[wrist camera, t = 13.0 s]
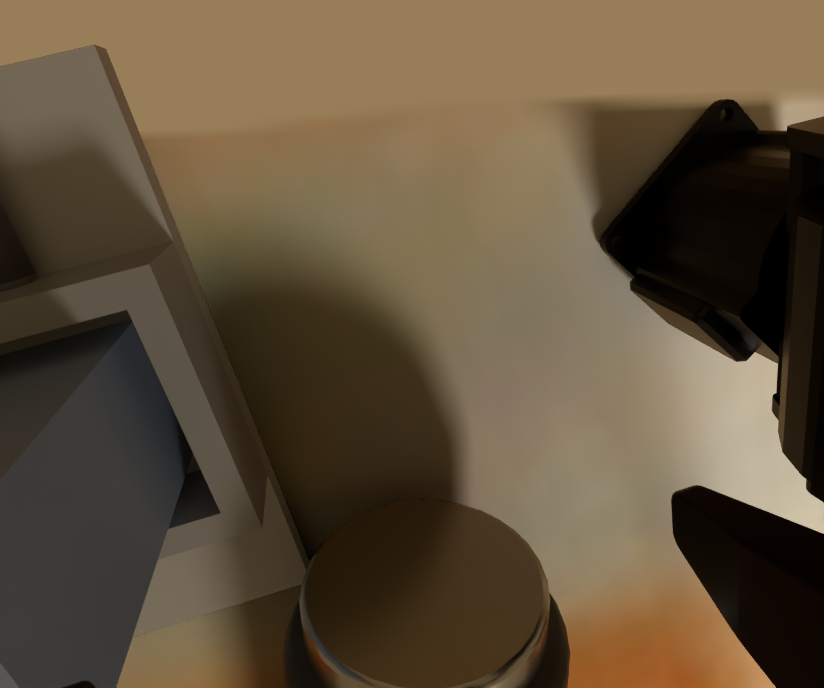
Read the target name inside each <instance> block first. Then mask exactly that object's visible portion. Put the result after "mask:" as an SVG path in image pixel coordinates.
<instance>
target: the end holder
mask: <svg viewBox="0 0 824 688" xmlns="http://www.w3.org/2000/svg"><path fill="white" fill-rule="evenodd" d="M130 319H132V321H133V324H134V326H135V328H136V330H137V332H138V335H139V337H140V339H141V341H142V343H143V345H144V348H145V350H146V352H147V354H148V356H149V358H150V361H151V363H152V365H153V367H154V369H155V371H156V374H157V376H158V378H159V380H160V382H161V384H162V387H163V389H164V391H165V393H166V395H167V397H168V400H169V402H170V404H171V406H172V408H173V411H174V413H175V415H176V417H177V419H178V421H179V424H180V426H181V428H182V430H183V432H184V434H185V437H186V439H187V441H188V443H189V445H190V447H191V450H192V452H193V455H192V458H191V461H190V464H189V467H188V470H187V473H186V476H185V479H184V482H183V485H182V488H181V491H180V494H179V497H178V500H177V503H176V506H175V509H174V512H173V515H172V518H171V522H170V525H169V528H168V531H167V534H166V537H165V540H164V543H163V546H162V549H161V552H160V555H159V558H158V561H157V564H156V567H155V570H154V573H153V576H152V579H151V582H150V585H149V589H148V592H147V595H146V598H145V601H144V604H143V607H142V610H141V613H140V616H139V619H138V622H137V625H136V628H135V631H134V634H133V637H136V636H139V635H142V634H145V633H148V632H152V631H155V630H158V629H161V628H164V627H167V626H171V625H174V624H177V623H180V622H183V621H187V620H190V619H193V618H196V617H199V616H203V615H206V614H209V613H212V612H215V611H218V610H222V609H225V608H228V607H231V606H234V605H238V604H241V603H244V602H247V601H250V600H254V599H257V598H260V597H263V596H266V595H270V594H273V593H276V592H279V591H282V590H285V589H289V588H292V587H295V586H298V585H301V584H302V581H303V578H304V575H305V573H306V570H307V568H308V565H309V563H310V562H309V559H308V557H307V554H306V552H305V549H304V547H303V544H302V541H301V539H300V536H299V534H298V531H297V529H296V526H295V524H294V521H293V519H292V516H291V514H290V511H289V509H288V506H287V504H286V501H285V499H284V496H283V494H282V491H281V489H280V486H279V484H278V481H277V479H276V476H275V473H274V471H273V468H272V466H271V463H270V461H269V458H268V456H267V453H266V451H265V448H264V446H263V443H262V441H261V438H260V436H259V433H258V431H257V428H256V426H255V423H254V421H253V418H252V416H251V413H250V411H249V408H248V405H247V403H246V400H245V398H244V395H243V393H242V390H241V388H240V385H239V383H238V380H237V378H236V375H235V373H234V370H233V368H232V365H231V363H230V360H229V358H228V355H227V353H226V350H225V348H224V345H223V343H222V340H221V337H220V335H219V332H218V330H217V327H216V325H215V322H214V320H213V317H212V315H211V312H210V310H209V307H208V305H207V302H206V300H205V297H204V295H203V292H202V290H201V287H200V285H199V282H198V280H197V277H196V275H195V272H194V269H193V267H192V264H191V262H190V259H189V257H188V254H187V252H186V249H185V247H184V244H183V242H182V239H181V237H180V234H179V232H178V229H177V227H176V224H175V222H174V219H173V217H172V214H171V212H170V209H169V206H168V204H167V201H166V199H165V196H164V194H163V191H162V189H161V186H160V184H159V181H158V179H157V176H156V174H155V171H154V169H153V166H152V164H151V161H150V159H149V156H148V154H147V151H146V149H145V146H144V144H143V141H142V138H141V136H140V133H139V131H138V128H137V126H136V123H135V121H134V118H133V116H132V113H131V111H130V108H129V106H128V103H127V101H126V98H125V96H124V93H123V91H122V88H121V86H120V83H119V81H118V78H117V76H116V73H115V70H114V68H113V66H112V63H111V61H110V58H109V55H108V53H107V50H106V49H104V48H101V47H99V46H96V45H92V46H87V47H83V48H78V49H74V50H70V51H66V52H61V53H57V54H52V55H48V56H44V57H40V58H35V59H31V60H27V61H22V62H18V63H13V64H9V65H5V66H0V355H2V354H6V353H10V352H13V351H17V350H20V349H24V348H28V347H31V346H35V345H39V344H42V343H46V342H50V341H53V340H57V339H61V338H64V337H68V336H71V335H75V334H79V333H82V332H86V331H90V330H93V329H97V328H101V327H104V326H108V325H111V324H115V323H119V322H122V321H126V320H130Z"/></svg>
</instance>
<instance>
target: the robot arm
mask: <svg viewBox="0 0 824 688" xmlns="http://www.w3.org/2000/svg"><path fill="white" fill-rule="evenodd" d="M723 109H724V110H725V112H726V113H725V118H724V119H723V121H721V120H720V113H721V112H722V110H723ZM616 236H618V237H619V242H618V244H617V245H616V246H615V247H612V240H613V238H615V237H616ZM600 246H601V248H602V250H603V251H604V252H605V253H606V254H607V255H608V256H609V257H610V258H611V259H613V260H614V261H615V262H616V263H617V264H618V265H619V266H620V267H621V268H622V269H624V270H625V271H626V272H627V273H628V274H629V275H630V276H631V277H632V278H633V279H632V280H631V281H630V289H631V291H632V292H633V293H635V294H636V295H637V296H638V297H639V298H640V299H641V300H642V301H644V302H645V303H646V304H647V305H648V306H649V307H650V308H651V309H652V310H654V311H655V312H656V313H657V314H658V315H659V316H660V317H661V318H663V319H664V320H665V321H666V322H667V323H668V324H670V325H672V326H673V327H675V328H677V329H679V330H680V331H682V332H684V333H686V334H688V335H689V336H691V337H693V338H695V339H697V340H698V341H700V342H702V343H704V344H706V345H707V346H709V347H711V348H713V349H715V350H716V351H718V352H720V353H722V354H723V355H725V356H727V357H729V358H731V359H732V360H734V361H736V362H739V361H747V360H748V359H749V358H750V356H751V355H752V354H753V353H754V352H756V353H758V354H760V355H762V356H764V357H766V358H768V359H770V360H772V361H774V362H776V363H778V377H777V393H776V394H774V395H773V399H772V412H773V414H774V415H775V416H776V418H777V419H778V420H779V425H778V433H779V438H780V442H781V447H782V452H783V453H784V454H785V456H786V457H787V458H788V459H789V460H790V462H791V463H792V464H793V465H794V467H795V468H796V469H797V470H798V471H799V473H800V474H801V475H802V476H803V477H804V478H806V479H807V480H806V489H807V490H808V492H809V493H810V494H812V495H813V496H815V497H816V498H818V499H819V500H821V501H822V502H824V117H820V118H816V119H812V120H808V121H804V122H800V123H796V124H792V125H789V126H787V131H771V130H759V129H758V128H757V126H756V125H755V124H754V123H753V121H752V120H751V119H750V118H749V117H748V115H747V114H746V113H745V112H744V111H743V109H742V108H741V107H740V106H739V104H738V103H737V102H735V101H734V100H729V99H726V100H718V101H715V102H714V103H713V104H712V105H711V106H710V107H709V108H708V109H707V110H706V112H705V113H704V114H703V115H702V116H701V118H700V119H699V120H698V121H697V122H696V123H695V125H694V126H693V127H692V128H691V129H690V131H689V132H688V133H687V134H686V135H685V137H684V138H683V139H682V140H681V141H680V142H679V144H678V145H677V146H676V147H675V148H674V150H673V151H672V152H671V153H670V154H669V156H668V157H667V158H666V159H665V160H664V161H663V163H662V164H661V165H660V166H659V167H658V169H657V170H656V171H655V172H654V173H653V175H652V176H651V177H650V178H649V179H648V181H647V182H646V183H645V184H644V185H643V186H642V188H641V189H640V190H639V191H638V192H637V194H636V195H635V196H634V197H633V198H632V200H631V201H630V202H629V203H628V204H627V205H626V207H625V208H624V209H623V210H622V211H621V213H620V214H619V215H618V216H617V217H616V219H615V220H614V221H613V222H612V223H611V224H610V226H609V227H608V228H607V229H606V230H605V232H604V233H603V235H602V236H601V240H600ZM671 505H672V525H673V535H674V538H675V541H676V543H677V545H678V547H679V549H680V551H681V552H682V554H683V555H684V557H685V558H686V560H687V561H688V563H689V564H690V566H691V568H692V569H693V571H694V572H695V574H696V575H697V577H698V578H699V580H700V581H701V583H702V585H703V586H704V588H705V589H706V591H707V592H708V594H709V595H710V597H711V598H712V600H713V602H714V603H715V605H716V606H717V608H718V609H719V611H720V612H721V614H722V615H723V617H724V619H725V620H726V622H727V623H728V625H729V626H730V628H731V629H732V631H733V632H734V634H735V635H736V636H737V638H738V639H739V641H740V642H741V643H742V645H743V646H744V647H745V649H746V650H747V651H748V652H749V654H750V655H751V656H752V658H753V659H754V660H755V661H756V663H757V664H758V665H759V666H760V668H761V669H762V670H763V671H764V673H765V674H766V675H767V677H768V678H769V679H770V680H771V682H772V683H773V684H774V685H775V687H776V688H824V534H822V533H820V532H817V531H815V530H812V529H810V528H807V527H805V526H802V525H800V524H797V523H794V522H792V521H789V520H787V519H784V518H782V517H779V516H777V515H774V514H772V513H769V512H767V511H764V510H761V509H759V508H756V507H754V506H751V505H749V504H746V503H744V502H741V501H739V500H736V499H733V498H731V497H728V496H726V495H723V494H721V493H718V492H716V491H713V490H711V489H708V488H706V487H703V486H698V485H696V486H691V487H688V488H685V489H682V490H679V491H676V492H674V493H673V495H672V499H671ZM61 688H96V687H95V686H94V684H93V683H91V682H89V681H87V680H86V681H80V682H77V683H74V684H71V685H68V686H64V687H61Z"/></svg>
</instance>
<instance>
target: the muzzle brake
mask: <svg viewBox="0 0 824 688" xmlns="http://www.w3.org/2000/svg"><path fill="white" fill-rule="evenodd" d="M569 661H570V649H569V643H568V637H567V631H566V627H565V624H564V621H563V619H562V616H561V614H560V611H559V609H558V606H557V604H556V602H555V600H554V599H553V597H552V596H551V594H550V593H549V588H548V581H547V578H546V576H545V573H544V571H543V568H542V566H541V563H540V561H539V559H538V558H537V556H536V555H535V553H534V552H533V550H532V549H531V547H530V546H529V544H528V543H527V542H526V541H525V540H524V539H523V538H522V537H521V536H520V535H519V534H518V533H517V532H516V531H515V530H513V529H512V528H511V527H509V526H508V525H506V524H505V523H503V522H502V521H500V520H499V519H497V518H495V517H493V516H491V515H489V514H487V513H485V512H483V511H481V510H478V509H474V508H471V507H468V506H465V505H462V504H457V503H451V502H446V501H439V500H410V501H401V502H396V503H391V504H386V505H383V506H380V507H377V508H375V509H372V510H369V511H366V512H365V513H363V514H361V515H359V516H357V517H355V518H353V519H351V520H349V521H348V522H347V523H345V524H344V525H342V526H341V527H340V528H338V529H337V530H336V531H334V532H333V533H332V534H331V535H330V536H329V537H328V538H327V539H326V540H325V541H324V542H323V543H322V544H321V545H320V547H319V548H318V550H317V551H316V553H315V555H314V556H313V558H312V559H311V561H310V563H309V565H308V568H307V570H306V573H305V575H304V578H303V581H302V584H301V592H300V599H299V601H298V603H297V604H296V606H295V608H294V611H293V614H292V616H291V619H290V622H289V624H288V627H287V631H286V637H285V644H284V650H283V664H284V676H285V685H286V688H567V686H568V675H569Z"/></svg>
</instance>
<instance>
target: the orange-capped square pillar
mask: <svg viewBox="0 0 824 688" xmlns="http://www.w3.org/2000/svg"><path fill="white" fill-rule="evenodd" d="M192 455H193V452H192V450H191V447H190V445H189V443H188V441H187V439H186V437H185V434H184V432H183V430H182V428H181V426H180V424H179V421H178V419H177V417H176V415H175V413H174V411H173V408H172V406H171V404H170V402H169V400H168V397H167V395H166V393H165V391H164V389H163V387H162V384H161V382H160V380H159V378H158V376H157V374H156V371H155V369H154V367H153V365H152V363H151V361H150V358H149V356H148V354H147V352H146V350H145V348H144V345H143V343H142V341H141V339H140V337H139V335H138V332H137V330H136V328H135V326H134V324H133V321H132V319H130V320H126V321H122V322H119V323H115V324H111V325H108V326H104V327H101V328H97V329H93V330H90V331H86V332H82V333H79V334H75V335H71V336H68V337H64V338H61V339H57V340H53V341H50V342H46V343H42V344H39V345H35V346H31V347H28V348H24V349H20V350H17V351H13V352H10V353H6V354H2V355H0V688H61V687H64V686H68V685H71V684H74V683H77V682H80V681H86V680H87V681H89V682H91V683H93V684H94V686H95V687H96V688H116V686H117V683H118V680H119V677H120V674H121V671H122V668H123V665H124V662H125V659H126V656H127V652H128V649H129V646H130V643H131V640H132V637H133V634H134V631H135V628H136V625H137V622H138V619H139V616H140V613H141V610H142V607H143V604H144V601H145V598H146V595H147V592H148V589H149V585H150V582H151V579H152V576H153V573H154V570H155V567H156V564H157V561H158V558H159V555H160V552H161V549H162V546H163V543H164V540H165V537H166V534H167V531H168V528H169V525H170V522H171V518H172V515H173V512H174V509H175V506H176V503H177V500H178V497H179V494H180V491H181V488H182V485H183V482H184V479H185V476H186V473H187V470H188V467H189V464H190V461H191V458H192Z"/></svg>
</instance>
